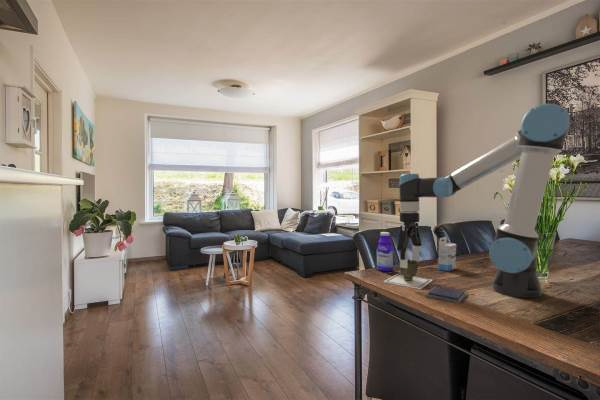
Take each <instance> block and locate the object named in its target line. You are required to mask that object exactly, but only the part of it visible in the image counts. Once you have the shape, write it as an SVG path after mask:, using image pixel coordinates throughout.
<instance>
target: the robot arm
mask: <svg viewBox="0 0 600 400" xmlns="http://www.w3.org/2000/svg"><path fill="white" fill-rule="evenodd" d="M570 130H571V118H570V115H569V113H568V112H567V110H566V109H565V108H563V107H562V106H560V105H558V104H554V103H542V104H538V105H535V106H534V107H532V108H531V109H529V110H528V111H526V113H525V114H524V116H523V117H522V119H521V122H520V130H518V131H516V133H515V135H514V136H513V137H511V138H509V139H508V140H506V141H505V142H503V143H501V144H500V145H497V146H496V147H494V148H492V149H490V150H489V151H487V152H485V153H484V154H481V156H479V157H477V158H475V159H473V160H471V161H470V162H468V163H466V164H465V165H463V166H462V167H460V168H458V169H456V170H454V171H453V172H451V173H448V175H446V176H444V177H441V176H439V177H426V178H423V177H420V175H419V173H402V174H400V176H399V184H398V188H399V204H398V206H399V211H400V213H399V221H400V222H401V223H403V225H402V224H400V226H399V228H400V229H399V236H398V241H397V249H396V250H397V252H399V260H400V267H399V269H400V268H408V261H407V260H408V251H407V249H408V245H409V241H410V240H411V243H412V245H411V253H412V255H411V257H412V258H411V260H413V261H414V260H416V261H417V263H420V247H421V246H422V241H421V240H422V239H421V235H420V229H419V222H420V213H419V212H420V198H439V199H442V198H449V197H452V196H454V195H455V194H456V193H457V192H459V191H460V190H462V189H464V188H466V187H467V186H469V185H471V184H473V183H475V182H478V181H479V180H481V179H482V178H484V177H486V176H488V175H490V174H492V173H494V172H497V171H498V170H499V169H501V168H504V167H506V166H507V165H509V164H511V163H513V162H515V161H517V160H519V162H518V165H517V166H518V167H517V171H516V174H515V180H514V183H513V187H512V191H511V195H510V198H509V203H508V206H507V211H506V215H505V219H504V222H503V224H500V225H498V226H497V229H496V233H495V236H494V240H493V242H492V244H491V245H490V247H489V251H488V252H489V253H488V254H489V259H490V261H491V263H492V264H493V265H494V267H496V268H497V269H498V270H497V272H496V275H495V277H494V279H493V282H492V289H493V290H494V291H495V292H497V293H500V294H503V295H505V296H509V297H513V298H514V297H515V298H522V299H524V298H525V299H536V298H537V299H538V298H541V297H542V296H543V288H542V286H541V282H540V280H539V275H538V274H537V272H538V269H537V264H538V262H537V261H538V242H539V234H538V232H537V231H536V230H535V229H536V226H537V221H538V218H539V214H540V211H541V207H542V202H543V199H544V195H545V191H546V188H547V185H548V181H549V177H550V174H551V169H552V167H553V162H554V159H555V156H556V155H558V154H560V153H561V152H562V151H563V149H564V148H563V147H564V145H565V143H566V142H565V141H566V138H567V136H568V134H569V132H570Z"/></svg>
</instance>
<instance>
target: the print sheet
mask: <svg viewBox="0 0 600 400" xmlns="http://www.w3.org/2000/svg"><path fill="white" fill-rule="evenodd" d="M403 277H404V276H403V275H402V274H401V273H397V274H393V276H391V277H389V278H387V279H386V280H383V281H382V283H385V284H390V285H396V286H400V287H406V288H411V289H416V290H422V289H424V288H425V287H426V286H427V285H429V284H430V283H432V282H433V281H434V280H433V279H431V278H425V277H424V278H423V277H421V276H420V277H418V276H414V277H413V280H412V281H405V280H404V279H403Z"/></svg>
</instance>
